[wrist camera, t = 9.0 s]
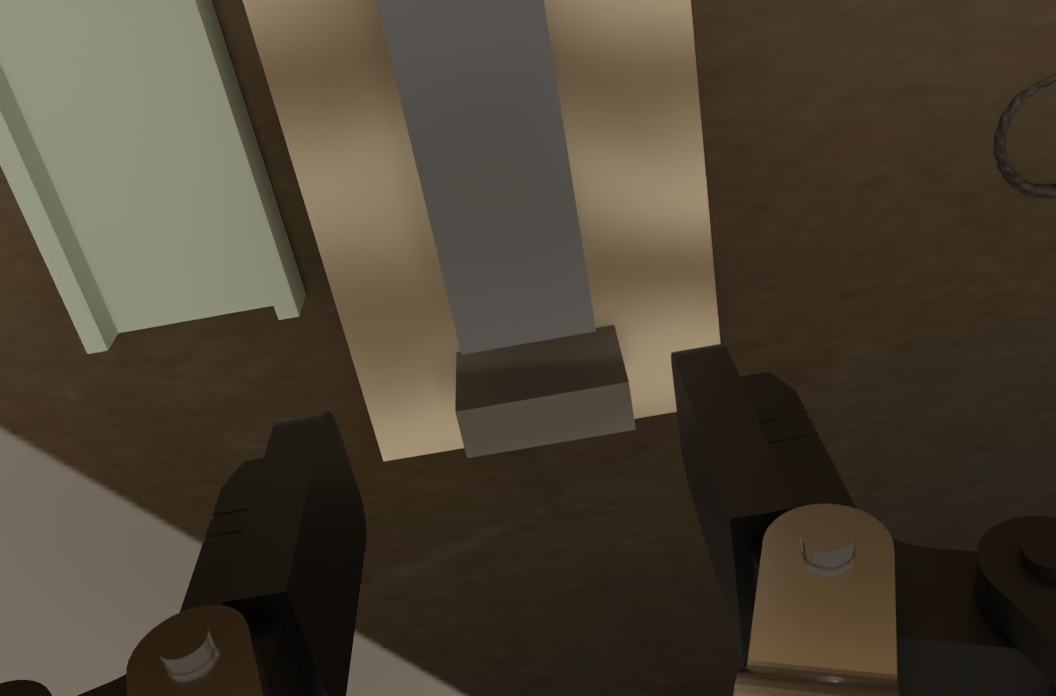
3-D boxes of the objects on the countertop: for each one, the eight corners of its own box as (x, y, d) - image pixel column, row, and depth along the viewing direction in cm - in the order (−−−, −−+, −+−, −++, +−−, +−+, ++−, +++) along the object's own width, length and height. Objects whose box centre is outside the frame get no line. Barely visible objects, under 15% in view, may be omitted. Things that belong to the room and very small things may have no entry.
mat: (306, 293, 30) (299, 316, 29) (103, 330, 30) (87, 353, 29) (147, -201, 23) (130, -198, 22) (-111, -148, 24) (-142, -143, 22)
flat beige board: (721, 392, 32) (749, 464, 29) (384, 450, 33) (375, 527, 30) (639, -532, 21) (672, -586, 17) (120, -422, 21) (57, -455, 18)
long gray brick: (578, 254, 29) (596, 331, 25) (462, 274, 29) (461, 354, 25) (516, -133, 24) (525, -112, 20) (375, -106, 24) (357, -79, 20)
